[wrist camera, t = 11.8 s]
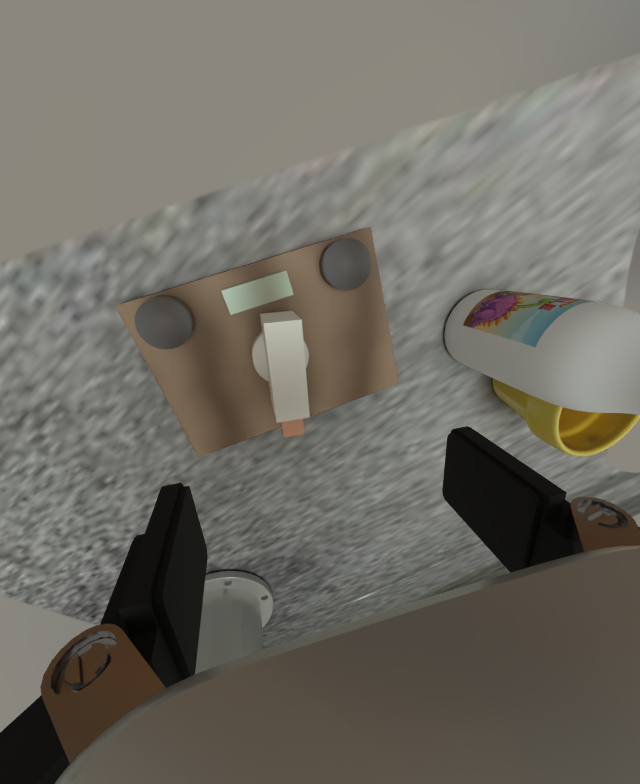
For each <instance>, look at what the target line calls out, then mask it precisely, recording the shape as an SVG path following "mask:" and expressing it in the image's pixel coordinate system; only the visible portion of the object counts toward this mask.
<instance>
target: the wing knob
mask: <svg viewBox="0 0 640 784" xmlns="http://www.w3.org/2000/svg"><path fill="white" fill-rule="evenodd" d="M260 319H261V326H262V331H261V332H259V334H258V335H257V336H256V337H255V339H254V341H253V344H252V358H253V364H254V367H255V369H256V371H257V372H258V374H259V375H260V376H261V377H262V378H263V379H265V380H267V381H269V386H270V394H271V401H272V405H273V410H274V414H275V418H276V422H277V423H278V422H280V425H281V429H282V433H283V437H284V438H285V437H291V436H297V435H302V434H305V431H304V420H303V418H309V417H310V414H309V402H308V390H307V378H306V367H307V365H308V360H309V353H308V348H307V346H306V344H305V342H304V340H303V329H302V319H301V318H300V317H298V316H297V315H296V314H295V313H294V312H293V311H284V312H274V313H263V314H260Z"/></svg>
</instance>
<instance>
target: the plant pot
mask: <svg viewBox="0 0 640 784" xmlns="http://www.w3.org/2000/svg"><path fill="white" fill-rule="evenodd" d="M493 388H494V391H495V393H496V395H497V396H498V397H499V398H500V399H502V400H503V401H504V402H505V403H506V404H507V405H509V406H510V407H511V408H512V409H513V410H514V411H516V412H517V413H518V414H519V415H520V416H521V417H523V418H524V419H525V420H526V421H527V424H528V426H529V428H530V430H531V431H532V432H533V433H534V434H535V435H536V436H537V437H538V438H540V439H541V440H543V441H545V442H546V443H548V444H550V445H551V446H553V447H555V448H557V449H558V450H560V451H562V452H564V453H566V454H569V455H572V456H589V455H593V454H596V453H599V452H601V451H603V450H606V449H607V448H609V447H611V446H612V445H614V444H615V443H616V442H618V441H619V440H620V439H622V438H623V437H624V436H625V435H626V434H627V433H628V432H629V431H630V430H631V428H632V427H633V426H634V425H635V423H636V422H637V421H638V420H639V418H640V415H636V414H626V413H596V412H584V411H577V410H572V409H568V408H564V407H561V406H557V405H554V404H551V403H549V402H546V401H544V400H542V399H539V398H537V397H534V396H532V395H529V394H527V393H525V392H523V391H520V390H518V389H516V388H514V387H511V386H509V385H507V384H505V383H502V382H500V381H498V380H496V379H494V378H493Z"/></svg>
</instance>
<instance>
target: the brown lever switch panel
mask: <svg viewBox="0 0 640 784" xmlns="http://www.w3.org/2000/svg"><path fill="white" fill-rule="evenodd" d="M115 307H116V308H117V310H118V312H119V314H120V316H121V318H122V319H123V321H124V323H125V325H126V327H127V328H128V330H129V332H130V334H131V336H132V337H133V339H134V341H135V343H136V345H137V347H138V348H139V350H140V352H141V354H142V356H143V357H144V359H145V361H146V363H147V365H148V366H149V368H150V370H151V372H152V374H153V376H154V377H155V379H156V381H157V383H158V385H159V386H160V388H161V390H162V392H163V394H164V395H165V397H166V399H167V401H168V403H169V404H170V406H171V408H172V410H173V412H174V414H175V415H176V417H177V419H178V421H179V423H180V424H181V426H182V428H183V430H184V432H185V433H186V435H187V437H188V439H189V441H190V443H191V444H192V446H193V448H194V450H195V452H196V453H197V455H198V457H200V456H203V455H206V454H208V453H211V452H214V451H217V450H219V449H222V448H225V447H227V446H230V445H233V444H236V443H238V442H241V441H244V440H247V439H249V438H252V437H255V436H257V435H260V434H263V433H266V432H268V431H271V430H274V429H277V428H279V427H281V425H280V422H278V423H277V422H276V418H275V414H274V410H273V405H272V401H271V394H270V386H269V381H267V380H265V379H263V378H262V377H261V376H260V375H259V374H258V372H257V371H256V369H255V367H254V364H253V358H252V344H253V341H254V339H255V337H256V336H257V335H258V334H259V332H261V331H262V326H261V319H260V314H263V313H274V312H284V311H293V312H294V313H295V314H296V315H297V316H298V317H300V318H301V319H302V329H303V340H304V342H305V344H306V346H307V348H308V353H309V360H308V365H307V367H306V378H307V390H308V402H309V414H310V416H312V415H315V414H317V413H320V412H323V411H326V410H328V409H331V408H334V407H336V406H339V405H342V404H345V403H347V402H350V401H353V400H356V399H358V398H361V397H364V396H366V395H369V394H372V393H375V392H377V391H380V390H383V389H386V388H388V387H391V386H394V385H396V384H399V381H398V375H397V370H396V364H395V359H394V353H393V348H392V342H391V337H390V332H389V326H388V321H387V315H386V310H385V304H384V299H383V293H382V288H381V282H380V277H379V271H378V266H377V260H376V255H375V249H374V244H373V238H372V233H371V227H369V228H365V229H361V230H358V231H355V232H352V233H348V234H345V235H342V236H339V237H335V238H332V239H329V240H326V241H323V242H319V243H316V244H313V245H310V246H306V247H303V248H300V249H297V250H293V251H290V252H287V253H284V254H280V255H277V256H274V257H271V258H268V259H264V260H261V261H258V262H255V263H251V264H248V265H245V266H242V267H238V268H235V269H232V270H229V271H225V272H222V273H219V274H216V275H213V276H209V277H206V278H203V279H200V280H196V281H193V282H190V283H187V284H183V285H180V286H177V287H174V288H170V289H167V290H164V291H161V292H158V293H154V294H151V295H148V296H145V297H141V298H138V299H135V300H132V301H128V302H125V303H122V304H119V305H117V306H115ZM303 419H304V418H303Z"/></svg>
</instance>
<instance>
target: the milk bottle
mask: <svg viewBox="0 0 640 784" xmlns="http://www.w3.org/2000/svg"><path fill="white" fill-rule="evenodd" d="M445 344H446V347H447V349H448V351H449V353H450V355H451V356H452V357H453V358H454V359H455V360H456V361H458V362H460V363H461V364H463V365H465V366H467V367H470V368H472V369H474V370H476V371H478V372H480V373H483V374H485V375H487V376H489V377H491V378H494V379H496V380H498V381H500V382H502V383H505V384H507V385H509V386H511V387H514V388H516V389H518V390H520V391H523V392H525V393H527V394H529V395H532V396H534V397H537V398H539V399H542V400H544V401H546V402H549V403H551V404H554V405H557V406H561V407H564V408H568V409H572V410H577V411H584V412H596V413H626V414H636V415H640V314H638V313H636V312H634V311H631V310H628V309H626V308H623V307H619V306H615V305H611V304H607V303H601V302H594V301H588V300H581V299H573V298H565V297H556V296H548V295H539V294H530V293H521V292H512V291H502V290H489V289H486V290H480V291H476V292H474V293H472V294H470V295H468V296H467V297H465V298H464V299H462V300H461V301H460V302H459V303H458V304H457V305H456V306H455V308H454V309H453V310H452V312H451V314H450V316H449V317H448V320H447V323H446V327H445Z"/></svg>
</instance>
